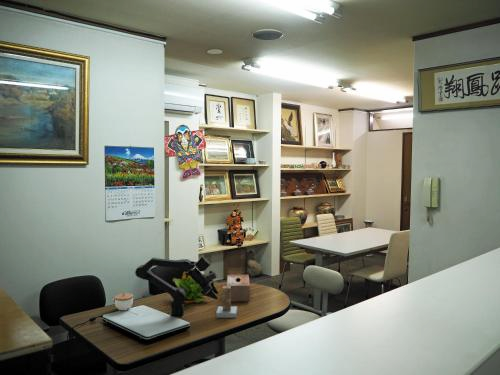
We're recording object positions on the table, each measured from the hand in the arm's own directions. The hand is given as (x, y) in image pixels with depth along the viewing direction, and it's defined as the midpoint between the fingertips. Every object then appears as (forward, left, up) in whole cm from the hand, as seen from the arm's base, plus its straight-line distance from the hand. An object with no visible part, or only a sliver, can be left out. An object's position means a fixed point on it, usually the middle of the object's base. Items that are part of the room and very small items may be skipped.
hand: (217, 296), depth 230 cm
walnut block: (+5, 0, -8) cm, 9 cm away
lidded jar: (-57, +7, -11) cm, 58 cm away
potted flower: (-22, +23, -11) cm, 34 cm away
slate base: (+5, 0, -10) cm, 12 cm away
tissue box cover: (+9, +36, -11) cm, 39 cm away
